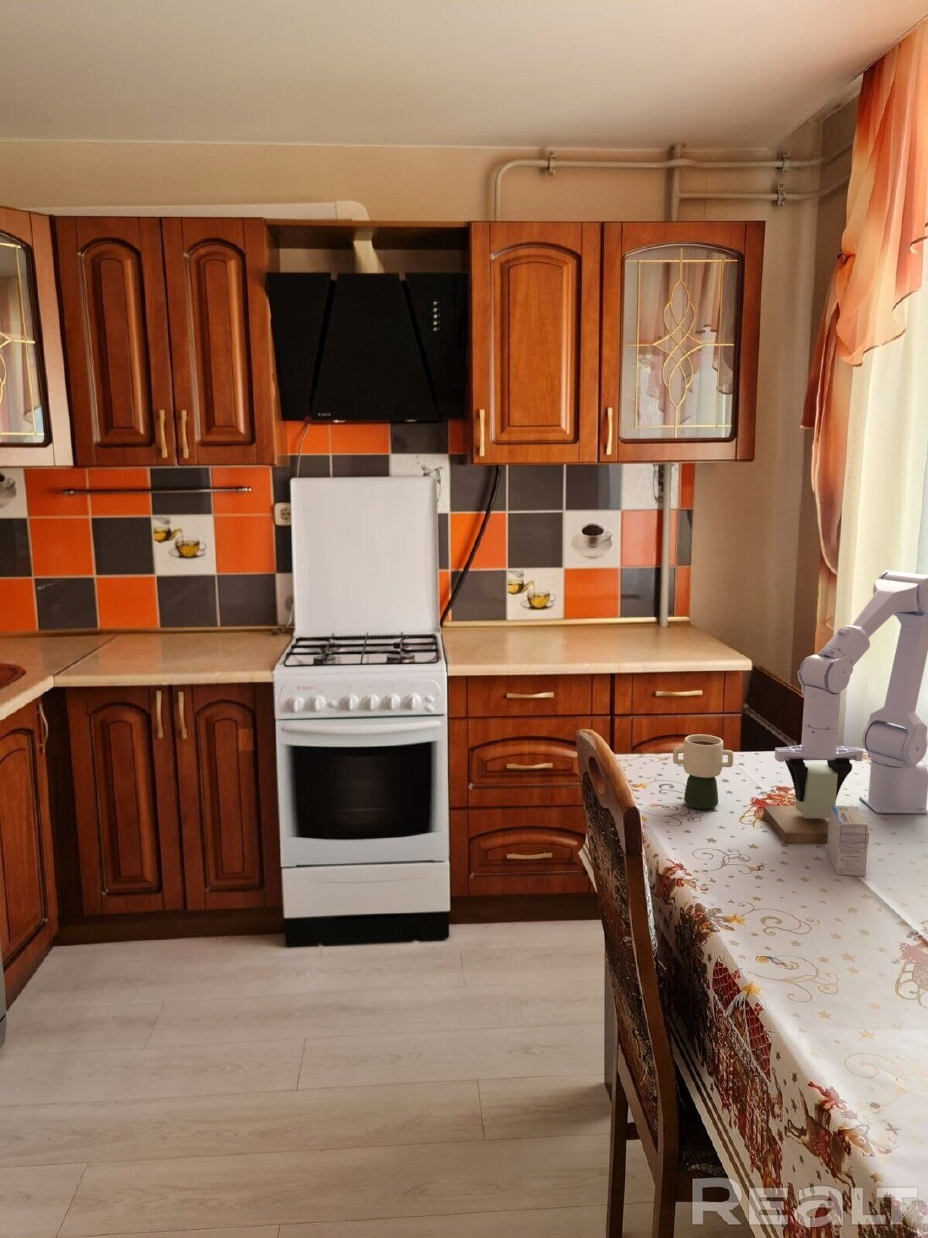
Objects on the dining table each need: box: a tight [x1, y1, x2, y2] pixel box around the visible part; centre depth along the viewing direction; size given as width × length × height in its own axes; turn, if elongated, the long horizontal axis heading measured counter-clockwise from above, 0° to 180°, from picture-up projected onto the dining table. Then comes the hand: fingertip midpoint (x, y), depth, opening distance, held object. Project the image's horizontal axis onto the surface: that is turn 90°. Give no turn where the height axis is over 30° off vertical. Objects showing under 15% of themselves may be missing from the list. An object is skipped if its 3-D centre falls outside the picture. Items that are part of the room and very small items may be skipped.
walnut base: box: [762, 805, 870, 845], centre depth 156 cm, size 14×12×2 cm
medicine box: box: [826, 805, 869, 877], centre depth 141 cm, size 8×4×9 cm, turn 168°
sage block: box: [794, 763, 838, 818], centre depth 155 cm, size 5×5×8 cm
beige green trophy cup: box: [672, 733, 734, 810], centre depth 166 cm, size 11×7×13 cm, turn 78°
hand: (815, 799), depth 155 cm, fingers closed on sage block, 5 cm apart
